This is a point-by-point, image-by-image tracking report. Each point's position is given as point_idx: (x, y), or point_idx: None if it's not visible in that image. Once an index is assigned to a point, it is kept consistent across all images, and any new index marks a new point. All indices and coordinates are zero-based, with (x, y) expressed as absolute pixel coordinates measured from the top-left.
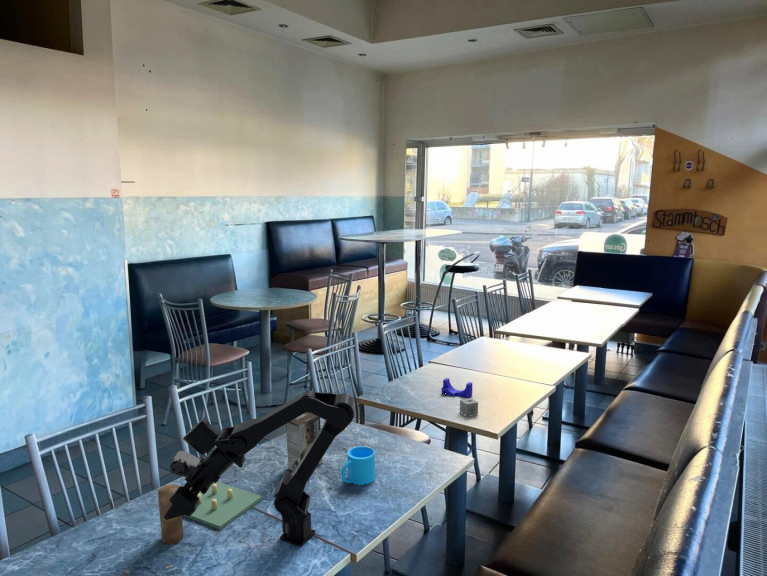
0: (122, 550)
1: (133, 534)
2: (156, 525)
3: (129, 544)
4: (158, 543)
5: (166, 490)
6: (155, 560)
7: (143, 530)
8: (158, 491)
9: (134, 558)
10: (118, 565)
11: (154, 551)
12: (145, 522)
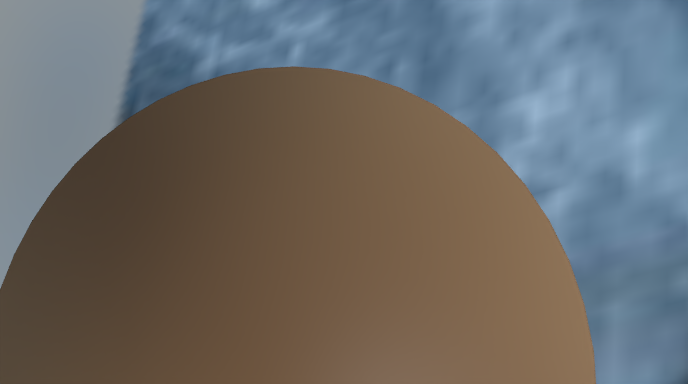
0: (306, 25)
1: (484, 22)
2: (600, 148)
3: (366, 42)
4: None
5: (213, 299)
6: None
7: (532, 73)
8: (206, 94)
9: None
10: (163, 62)
11: None
12: (649, 47)
